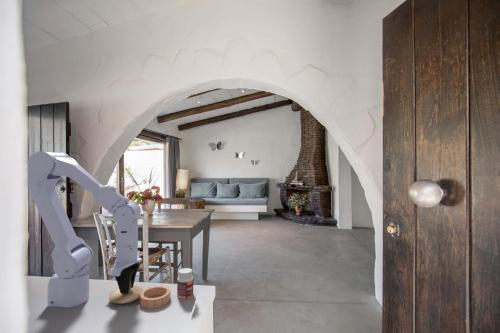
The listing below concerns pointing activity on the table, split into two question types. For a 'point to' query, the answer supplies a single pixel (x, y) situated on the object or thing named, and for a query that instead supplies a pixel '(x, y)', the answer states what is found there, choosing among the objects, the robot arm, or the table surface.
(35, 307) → the table surface
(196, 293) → the table surface
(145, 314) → the table surface
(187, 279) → the pill bottle
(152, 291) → the bowl
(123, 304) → the coaster
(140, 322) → the table surface
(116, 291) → the lid
